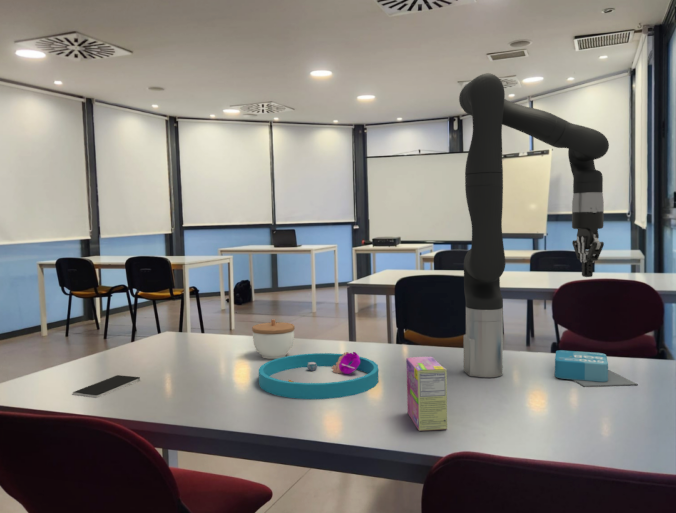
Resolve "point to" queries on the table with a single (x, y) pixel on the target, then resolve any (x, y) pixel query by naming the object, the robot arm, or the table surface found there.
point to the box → (427, 393)
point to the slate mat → (612, 381)
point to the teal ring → (319, 390)
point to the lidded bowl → (273, 339)
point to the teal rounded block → (581, 366)
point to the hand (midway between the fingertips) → (587, 276)
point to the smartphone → (107, 386)
